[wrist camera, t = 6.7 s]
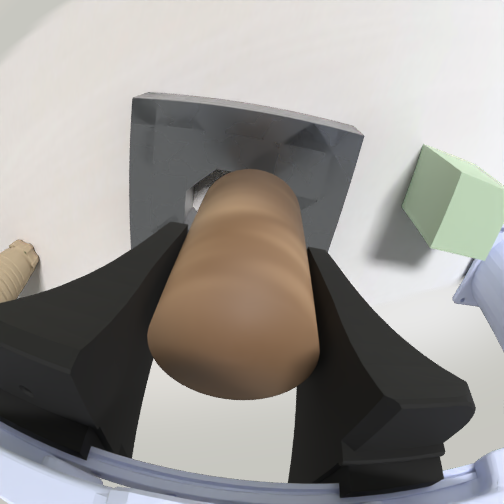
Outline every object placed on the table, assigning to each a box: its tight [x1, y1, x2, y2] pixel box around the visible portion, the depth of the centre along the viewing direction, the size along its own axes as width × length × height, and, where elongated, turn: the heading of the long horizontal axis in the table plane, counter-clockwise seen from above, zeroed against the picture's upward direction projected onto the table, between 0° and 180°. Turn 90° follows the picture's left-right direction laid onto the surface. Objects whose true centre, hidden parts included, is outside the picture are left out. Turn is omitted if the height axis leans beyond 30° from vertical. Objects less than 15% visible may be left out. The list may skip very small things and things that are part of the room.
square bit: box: [402, 144, 504, 261], centre depth 16 cm, size 4×4×5 cm
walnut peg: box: [147, 169, 320, 400], centre depth 10 cm, size 4×4×7 cm
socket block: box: [129, 92, 364, 253], centre depth 19 cm, size 12×12×2 cm
